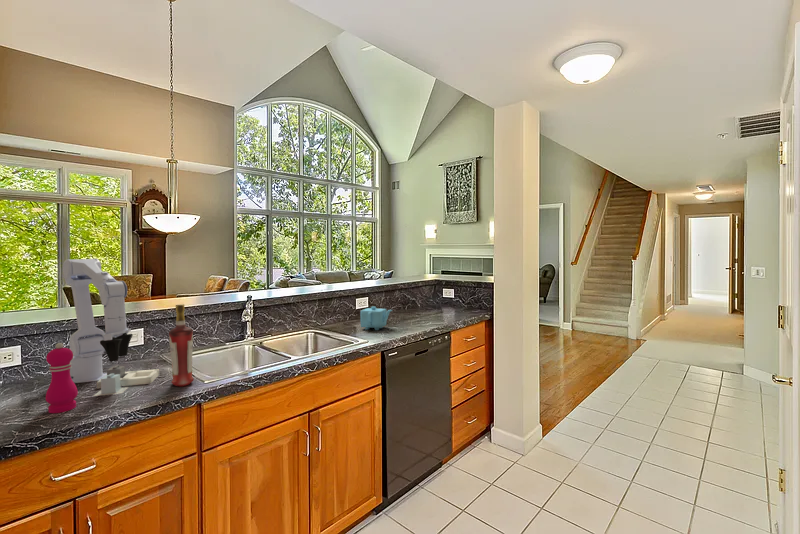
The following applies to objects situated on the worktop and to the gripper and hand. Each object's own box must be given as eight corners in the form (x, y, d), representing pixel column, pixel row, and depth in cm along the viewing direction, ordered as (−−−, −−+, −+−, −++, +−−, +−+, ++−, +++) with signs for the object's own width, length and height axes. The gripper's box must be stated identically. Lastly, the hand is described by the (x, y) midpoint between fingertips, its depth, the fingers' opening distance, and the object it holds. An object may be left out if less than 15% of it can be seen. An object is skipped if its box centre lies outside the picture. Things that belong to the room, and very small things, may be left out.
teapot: (358, 330, 223) (358, 308, 223) (368, 325, 238) (368, 304, 238) (388, 332, 218) (388, 309, 218) (397, 326, 233) (396, 305, 232)
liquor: (170, 383, 137) (167, 304, 136) (193, 379, 141) (190, 302, 140) (171, 389, 131) (168, 307, 130) (195, 385, 135) (193, 305, 134)
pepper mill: (59, 405, 119) (55, 340, 118) (84, 404, 119) (81, 339, 119) (39, 415, 112) (35, 346, 111) (66, 414, 112) (62, 345, 111)
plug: (101, 394, 127) (100, 377, 127) (106, 390, 131) (106, 373, 130) (115, 392, 128) (115, 376, 128) (120, 388, 132) (120, 372, 132)
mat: (92, 397, 125) (92, 396, 125) (101, 390, 131) (101, 389, 131) (121, 394, 128) (121, 393, 128) (128, 387, 133) (128, 387, 133)
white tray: (96, 389, 132) (96, 371, 132) (109, 379, 142) (108, 363, 142) (150, 384, 137) (150, 367, 137) (159, 375, 147) (158, 359, 146)
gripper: (120, 318, 124) (124, 361, 124) (136, 314, 138) (139, 352, 138) (94, 321, 122) (98, 364, 122) (113, 316, 136) (116, 355, 136)
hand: (118, 358), depth 130 cm, fingers open, 7 cm apart
